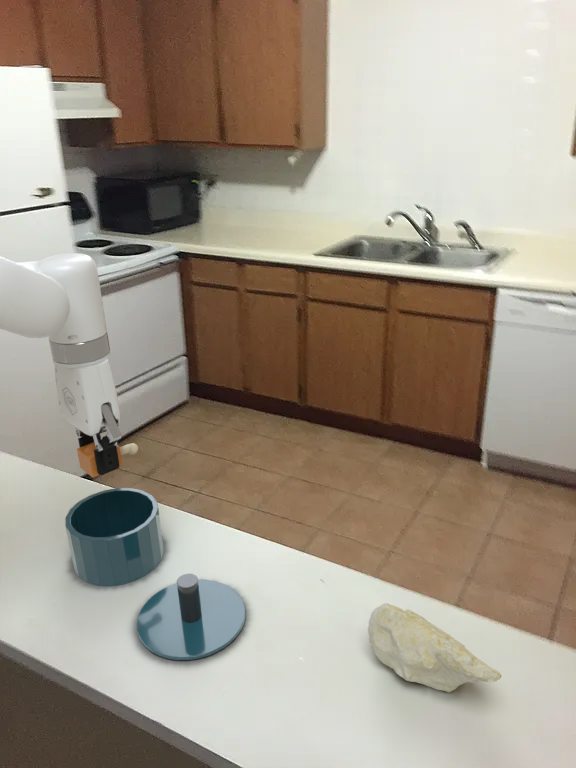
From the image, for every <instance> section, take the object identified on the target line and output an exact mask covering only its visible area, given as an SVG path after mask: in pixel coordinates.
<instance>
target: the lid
mask: <svg viewBox="0 0 576 768" xmlns="http://www.w3.org/2000/svg"><path fill="white" fill-rule="evenodd" d="M245 621H246V607H245V603H244V601H243V599H242V597H241V596H240V594H239V593H238V592H237V591H236V590H235V589H233V588H232V587H231V586H229V585H226V584H224V583H223V582H219V581H215V580H210V579H199V578H198V576H197V575H196V574H194V573H184V574H181V575H180V576H179V577H177V580H176V583H173V584H171V585H168V586H166V587H164V588H162V589H161V590H159V591H158V592H156V593H155V594H153V595H152V596H151V597H150V598H149V599H148V600H147V601H146V602H145V604H143V606H142V608H141V609H140V612H139V613H138V616H137V621H136V628H137V629H136V630H137V634H138V637H139V640H140V642H141V643H142V644H143V646H144V647H145V649H147V650H148V651H149V652H151V653H153V654H155V655H157V656H159V657H162V658H163V659H169V660H175V661H190V660H197V659H202V658H205V657H208V656H211V655H213V654H216V653H218V652H220V651H221V650H223V649H224V648H226V647H227V646H229V645H231V643H233V641H234V640H235V639H236V638H237V637H238V636H239V634H240V633H241V631H242V630H243V627H244V625H245Z"/></svg>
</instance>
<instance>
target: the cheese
mask: <svg viewBox="0 0 576 768" xmlns="http://www.w3.org/2000/svg"><path fill="white" fill-rule="evenodd" d="M367 631H368V641H369V644H370V645H371V649H372V651H373V652H374V654H375V655H376V657H377V659H378V660H379V661H380V662H381V663H382V664H383V665H384V666H385V665H386V666H387V667H389V668H390V669H393V671H394V672H395V674H397V675H398V676H399V677H400V678H402V679H403V680H404V681H406V682H411V683H418V684H421V685H423V686H426V687H428V688H432V689H434V690H436V691H442V692H446V693H451V692H453V691H455V690H457V689H458V687H460V686H461V685H464V684H466V683H471V684H473V683H477V682H479V681H480V682H483V683H489V684H492V683H494V682H497V681H499V680H500V679H501V678H502V674H501V673H500V671H499V670H497V669H495V668H493V667H492V666H489V665H488V664H487V663H486V662H484V661H483V660H481V659H479V658H478V657H477V656H476V655H474V654H473V653H472V652H471V651H470V650H468V649H467V648H466V646H465V645H464V644H463V643H461V642H459V640H457V639H455V638H454V637H453V636H451V635H450V634H449V633H448V632H446V631H444V630H443V629H441V628H439V627H438V626H436V625H434V624H433V623H431V622H430V621H428V620H427V619H426V618H425V617H423V616H422V615H420V614H418V613H417V612H415V611H412V610H410V609H404V610H403V609H402V608H400V607H398V606H396V605H392V604H390V603H386V602H385V603H383V604H381V605H379V606H377V607H375V608H374V609H373V610H372V612H371V613H370V617H369V621H368V626H367Z"/></svg>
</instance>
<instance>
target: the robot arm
mask: <svg viewBox="0 0 576 768" xmlns="http://www.w3.org/2000/svg"><path fill="white" fill-rule="evenodd" d="M98 270H99V269H98V265H97V263H96V260H95V259H94V258H93V257H92V256H90V255H89V254H85V253H80V252H67V253H65V252H64V253H58V254H53V255H49V256H47V257H44V258H42V259H38V260H29V261H18V262H16V261H13V260H12V259H9V258H6V257H3V256H1V255H0V330H3V331H7V332H9V333H13V334H15V335H19V336H22V337H25V338H27V339H44V338H48V341H49V347H50V353H51V357H52V362H53V365H54V377H55V387H56V393H57V399H58V404H59V405H58V406H59V411H60V415H61V417H62V418H63V419H64V420H66V421H67V423H69V424H71V425H72V426H73V427H74V428H75V434H76V436H77V437H78V438H77V440H78V446H79V448H80V447H83V446H85V445H88V444H90V443H93V442H95V446H96V450H94V455H95V461H96V466H97V472H98V474H99V476H104V475H106V474H109V473H111V472H113V471H115V470H118V469H119V468H120V467H121V466H120V465H119V459H118V453H117V447H116V445H118V441H119V440H121V439H122V433H121V430H120V429H119V426H120V424H121V410H120V402H119V398H118V393H117V388H116V383H115V380H114V379H115V378H114V376H113V375H114V374H113V371H112V368H111V364H110V361H109V358H110V357H111V348H110V341H109V334H108V328H107V322H106V316H105V309H104V303H103V297H102V289H101V283H100V277H99V271H98ZM103 433H106V434H105V436H101V434H103ZM119 466H120V467H119Z"/></svg>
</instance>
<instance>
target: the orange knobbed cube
mask: <svg viewBox="0 0 576 768" xmlns="http://www.w3.org/2000/svg"><path fill="white" fill-rule="evenodd" d="M116 447H117V453H118V459H119V465H120V466H119V468H121V467H122V466H123V465H124V464H123V457H122V456H123V455H126V454H129V455H131V456H132V455H136V454H137V453H138V451H139V446H138V444H136V443H134V442H131V443H127V444H125V445H122V446H120V445H118V444H117V445H116ZM94 450H96V446H95V442H93V443H90V444H88V445H85V446H83V447H80V446H79V447H78V448H76V453H77V459H78V463H79V468H80V469H81V470H82V471H84V472H85V473H86V474H87V475H89V476H90V477H91V478H93V479H94V478H96V477H99V476H100V475H99V474H98V472H97V466H96V461H95V455H94Z"/></svg>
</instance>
